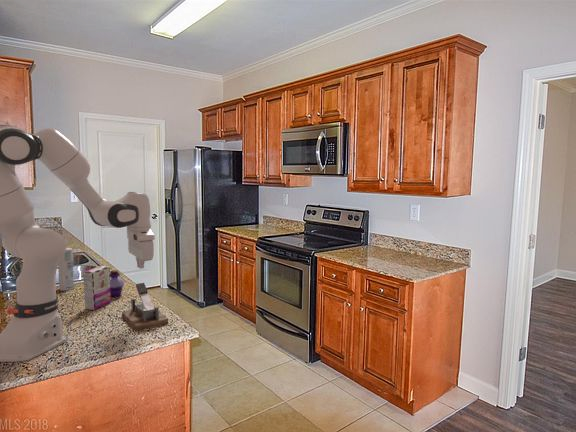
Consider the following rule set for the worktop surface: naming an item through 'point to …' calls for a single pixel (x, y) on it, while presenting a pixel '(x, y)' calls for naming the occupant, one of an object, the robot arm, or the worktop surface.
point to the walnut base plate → (139, 325)
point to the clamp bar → (144, 297)
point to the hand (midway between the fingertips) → (140, 267)
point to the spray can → (66, 271)
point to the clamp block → (144, 311)
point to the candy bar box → (97, 287)
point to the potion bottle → (116, 284)
